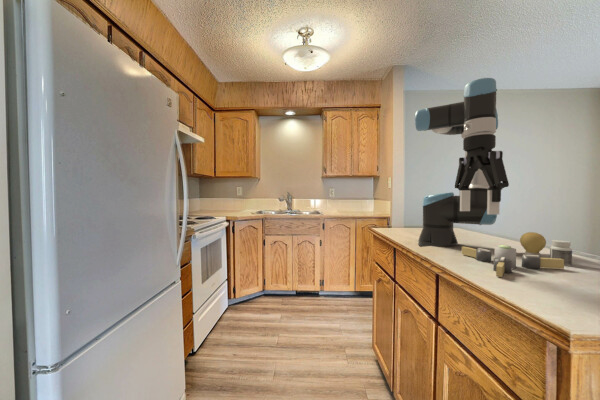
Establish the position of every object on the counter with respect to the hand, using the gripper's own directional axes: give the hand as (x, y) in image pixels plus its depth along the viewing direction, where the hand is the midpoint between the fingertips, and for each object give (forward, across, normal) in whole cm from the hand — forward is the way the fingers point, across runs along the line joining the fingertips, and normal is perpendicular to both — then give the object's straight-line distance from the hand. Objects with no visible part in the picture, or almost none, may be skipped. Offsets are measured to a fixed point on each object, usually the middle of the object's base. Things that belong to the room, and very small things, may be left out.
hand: (477, 212), depth 72 cm
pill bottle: (+18, -4, +29) cm, 35 cm away
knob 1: (+16, -11, +8) cm, 21 cm away
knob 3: (+16, 0, +19) cm, 25 cm away
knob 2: (+16, +4, +3) cm, 17 cm away
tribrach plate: (+18, -2, +10) cm, 20 cm away
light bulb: (+18, -11, +27) cm, 34 cm away
